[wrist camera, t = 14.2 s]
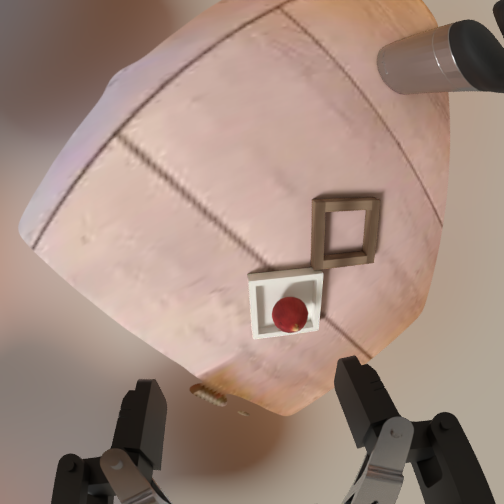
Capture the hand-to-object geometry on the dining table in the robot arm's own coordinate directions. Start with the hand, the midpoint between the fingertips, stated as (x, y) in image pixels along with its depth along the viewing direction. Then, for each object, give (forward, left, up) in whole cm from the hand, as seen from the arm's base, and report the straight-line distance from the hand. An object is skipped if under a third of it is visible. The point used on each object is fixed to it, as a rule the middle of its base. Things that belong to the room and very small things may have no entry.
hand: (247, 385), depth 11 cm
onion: (-8, +18, -32) cm, 37 cm away
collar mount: (-18, +6, -32) cm, 37 cm away
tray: (-8, +18, -32) cm, 38 cm away
